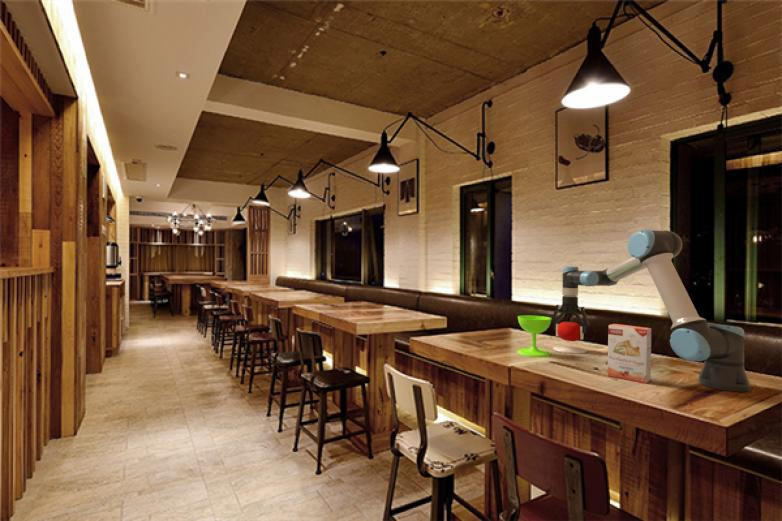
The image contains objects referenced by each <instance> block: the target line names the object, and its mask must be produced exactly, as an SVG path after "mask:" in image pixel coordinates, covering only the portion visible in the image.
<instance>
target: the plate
mask: <svg viewBox="0 0 782 521" xmlns="http://www.w3.org/2000/svg"><path fill="white" fill-rule="evenodd" d="M552 350H553V351H555V352H558V353H563V354H572V355H581V354H586V353H587V349H586V348H583V347H579V346H572V345H555V346H552Z"/></svg>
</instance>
